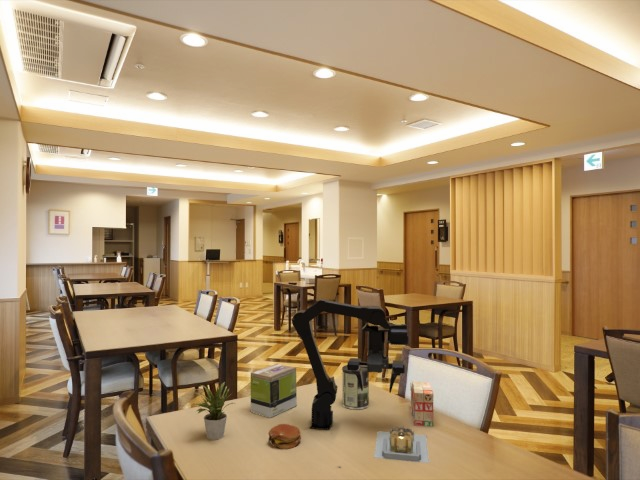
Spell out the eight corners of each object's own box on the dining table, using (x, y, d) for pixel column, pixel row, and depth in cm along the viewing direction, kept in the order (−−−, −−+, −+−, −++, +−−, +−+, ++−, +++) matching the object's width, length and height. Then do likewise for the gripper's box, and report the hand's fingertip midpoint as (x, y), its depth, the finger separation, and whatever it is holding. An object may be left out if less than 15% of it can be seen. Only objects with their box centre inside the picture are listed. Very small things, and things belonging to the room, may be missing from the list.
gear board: (373, 461, 121) (374, 452, 122) (377, 434, 139) (377, 426, 139) (429, 467, 119) (429, 457, 119) (426, 439, 136) (426, 430, 136)
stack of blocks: (410, 406, 165) (410, 373, 165) (427, 407, 164) (427, 374, 164) (414, 429, 144) (414, 391, 144) (433, 430, 143) (433, 393, 143)
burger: (298, 435, 139) (298, 420, 139) (302, 448, 130) (302, 432, 130) (267, 437, 137) (267, 422, 137) (269, 451, 128) (269, 435, 128)
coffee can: (367, 400, 171) (367, 364, 171) (370, 410, 161) (370, 371, 161) (341, 400, 171) (341, 363, 172) (342, 409, 161) (342, 371, 161)
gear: (389, 443, 130) (389, 433, 131) (390, 433, 138) (390, 423, 138) (413, 445, 129) (413, 435, 129) (413, 435, 136) (413, 425, 136)
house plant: (199, 425, 146) (200, 376, 146) (240, 425, 145) (241, 376, 146) (185, 444, 132) (186, 389, 132) (230, 445, 131) (231, 390, 132)
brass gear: (389, 455, 123) (389, 437, 123) (390, 444, 129) (390, 427, 130) (413, 457, 122) (413, 439, 122) (412, 447, 128) (412, 429, 128)
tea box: (277, 400, 170) (277, 362, 170) (297, 406, 164) (297, 367, 164) (249, 412, 158) (250, 371, 158) (270, 418, 152) (270, 376, 152)
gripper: (345, 348, 139) (345, 397, 139) (404, 351, 136) (404, 401, 135) (349, 341, 150) (349, 386, 150) (404, 343, 147) (404, 390, 146)
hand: (376, 391), depth 145 cm, fingers open, 9 cm apart
